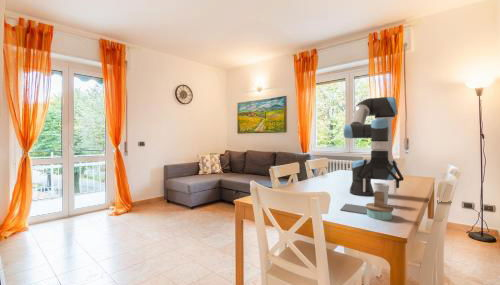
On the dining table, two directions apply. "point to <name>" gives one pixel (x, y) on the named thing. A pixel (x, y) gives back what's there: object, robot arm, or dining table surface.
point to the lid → (379, 203)
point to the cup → (382, 190)
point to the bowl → (379, 215)
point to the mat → (354, 209)
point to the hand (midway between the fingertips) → (379, 193)
